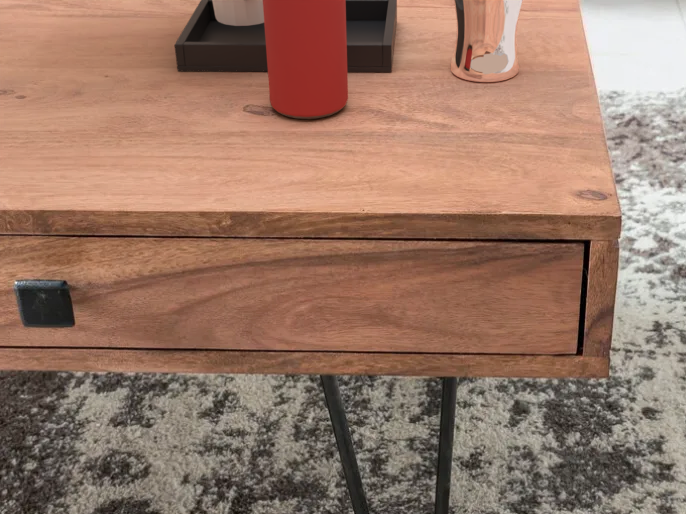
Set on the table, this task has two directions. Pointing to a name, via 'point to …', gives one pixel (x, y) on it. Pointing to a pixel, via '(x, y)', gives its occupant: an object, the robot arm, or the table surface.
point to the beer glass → (486, 40)
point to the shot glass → (239, 12)
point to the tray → (250, 44)
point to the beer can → (306, 56)
